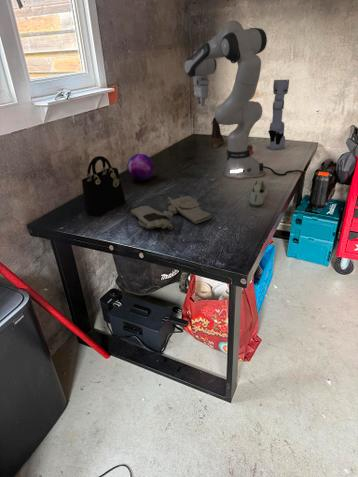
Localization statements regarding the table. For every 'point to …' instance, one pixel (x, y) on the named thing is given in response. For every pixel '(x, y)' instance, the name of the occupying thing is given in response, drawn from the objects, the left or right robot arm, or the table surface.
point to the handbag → (102, 188)
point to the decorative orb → (140, 167)
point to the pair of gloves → (170, 213)
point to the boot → (216, 134)
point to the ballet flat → (258, 193)
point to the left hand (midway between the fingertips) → (200, 104)
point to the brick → (250, 147)
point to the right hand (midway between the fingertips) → (274, 142)
